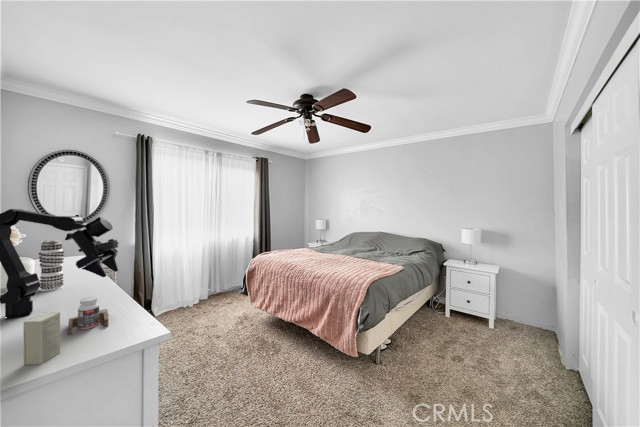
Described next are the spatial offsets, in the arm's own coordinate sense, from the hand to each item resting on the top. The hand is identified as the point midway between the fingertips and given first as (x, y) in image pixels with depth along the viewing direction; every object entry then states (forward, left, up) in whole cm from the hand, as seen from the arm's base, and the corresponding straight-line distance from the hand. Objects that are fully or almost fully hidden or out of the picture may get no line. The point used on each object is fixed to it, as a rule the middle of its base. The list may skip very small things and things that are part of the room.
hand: (111, 273), depth 108 cm
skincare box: (-17, -33, -15) cm, 40 cm away
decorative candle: (-20, +53, -15) cm, 59 cm away
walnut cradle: (-7, -15, -15) cm, 22 cm away
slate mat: (-5, -4, -15) cm, 16 cm away
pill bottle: (-7, -15, -15) cm, 22 cm away
